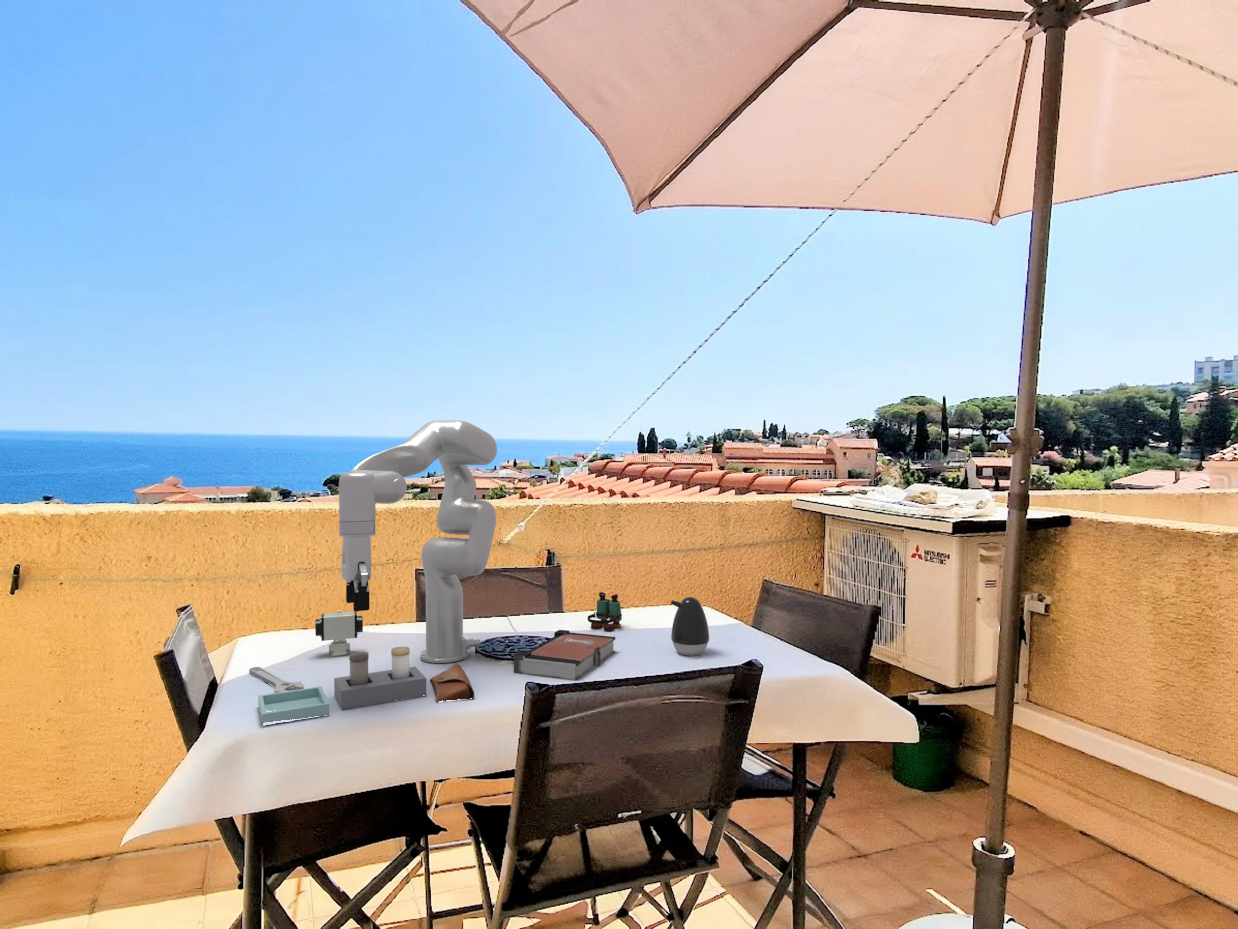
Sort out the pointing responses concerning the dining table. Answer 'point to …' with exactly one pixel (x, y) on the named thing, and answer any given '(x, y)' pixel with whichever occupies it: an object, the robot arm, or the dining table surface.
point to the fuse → (400, 662)
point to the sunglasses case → (452, 684)
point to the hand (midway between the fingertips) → (357, 606)
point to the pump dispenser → (689, 627)
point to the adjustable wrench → (275, 680)
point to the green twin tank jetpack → (606, 613)
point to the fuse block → (379, 689)
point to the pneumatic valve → (339, 630)
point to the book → (565, 655)
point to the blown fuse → (358, 668)
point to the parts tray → (293, 704)
